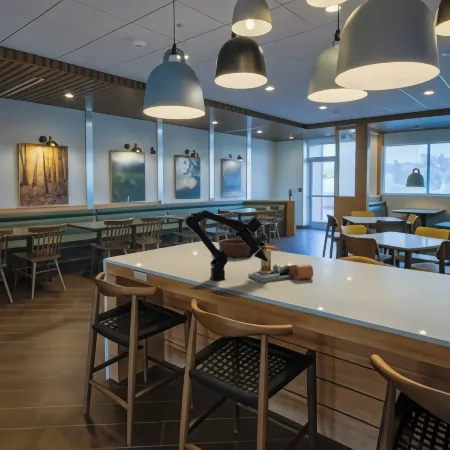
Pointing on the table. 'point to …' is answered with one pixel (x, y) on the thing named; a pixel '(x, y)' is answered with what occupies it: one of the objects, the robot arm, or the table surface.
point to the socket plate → (273, 274)
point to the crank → (301, 271)
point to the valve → (266, 265)
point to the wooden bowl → (234, 248)
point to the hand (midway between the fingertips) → (268, 260)
